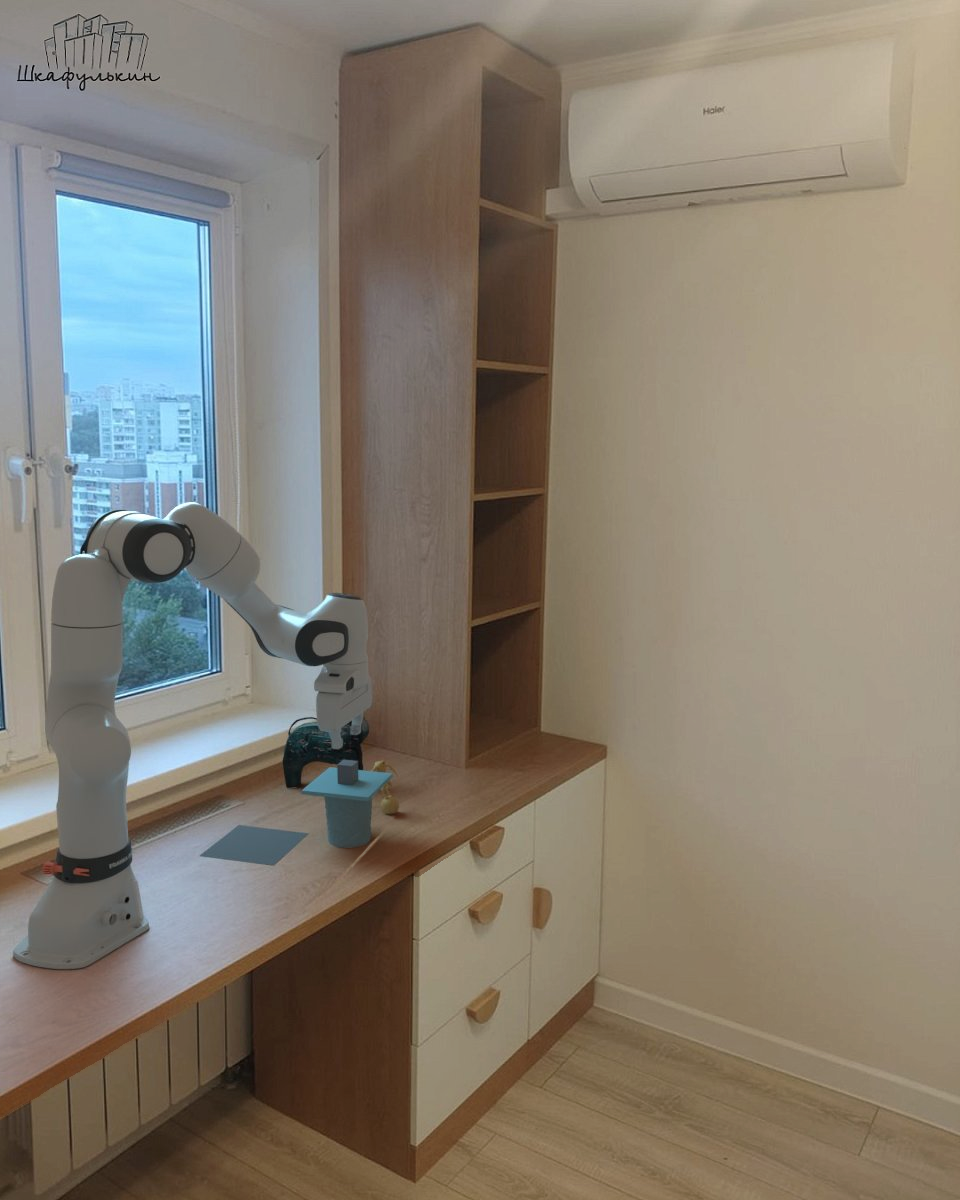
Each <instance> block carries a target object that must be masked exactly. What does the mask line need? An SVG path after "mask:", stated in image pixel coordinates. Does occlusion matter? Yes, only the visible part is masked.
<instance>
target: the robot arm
mask: <svg viewBox="0 0 960 1200" xmlns="http://www.w3.org/2000/svg"><path fill="white" fill-rule="evenodd" d="M79 553H80V554H77V555H73V556H71V557H68V558H65V560H63V561H62V562H61V563H60V565H59V566H58V568H57V570H56V571H57V572H56V576H55V580H54V584H53V585H54V586H53V592H52V598H51V599H52V600H51V612H50V613H51V615H50V616H51V617H50V618H51V619H50V676H49V677H50V678H49V682H48V683H49V684H48V691H47V699H46V711H45V721H44V723H45V724H44V730H45V732H44V734H45V738H46V740H47V742H48V744H49V745H50V747H51V749H52V750H53V752H54V754H55V756H56V760H57V765H58V789H57V790H58V791H57V793H58V794H57V802H56V806H55V808H56V809H55V810H56V820H57V832H58V835H57V836H58V848H57V850H56V856H55V859H54V862H52V861H49V860H48V861H45V862H44V863H43V866H42V869H41V871H42V873H43V874H44V875H52V876H53V877H52V879H51V881H50V882H49V884H48V886H47V887H46V889H45V890H44V892H43V894H42V896H41V897H40V898H39V900H38V902H37V903H36V906H35V907H34V908H33V910H32V911H31V913H30V916H29V918H28V925H27V935H26V937H24V938H23V939H22V940H21V942H19V943H18V944H17V945H16V947H15V948H14V949H13V951H12V956H13V958H14V959H15V960H17V961H18V962H21V963H23V964H26V965H30V966H34V967H39V968H43V969H44V968H45V969H54V970H75V969H81V968H86V967H87V966H90V965H91V964H93V963H95V962H96V961H98V960H100V959H102V958H103V957H105V956H107V955H108V954H109V953H111V952H113V951H115V950H116V949H118V948H120V947H121V946H123V945H125V944H126V943H128V942H130V941H131V940H133V939H135V938H136V937H138V936H140V935H141V934H143V933H144V932H146V931H148V930H149V929H150V924H149V921H148V919H146V917H145V916H144V912H143V911H144V910H143V904H142V899H141V893H140V892H141V891H140V888H139V882H138V879H137V878H136V876H135V874H134V871H133V868H132V865H131V864H132V862H133V847H132V841H131V839H130V837H129V831H128V830H129V828H128V815H127V814H128V813H127V788H128V787H127V786H128V780H129V779H128V778H129V766H130V761H131V755H132V745H131V740H130V736H129V733H128V730H127V728H126V727H125V725H124V724H123V723H122V722H121V720H119V719H118V717H117V714H116V709H115V702H116V694H117V688H118V682H119V677H120V674H121V673H122V670H123V647H124V646H123V640H124V639H123V636H124V635H123V633H124V632H123V629H124V628H123V626H124V610H123V601H124V596H125V594H126V590H127V588H128V586H129V585H130V583H131V581H132V580H134V581H139V582H142V583H144V584H145V583H146V584H161V583H165V582H167V581H170V580H172V579H174V578H175V577H177V576H178V575H180V573H181V572H182V571H183V570H186V571H187V572H188V573H189V574H190V575H191V576H192V577H193V578H194V579H196V580H197V581H198V582H199V583H200V584H201V585H203V586H204V587H205V588H206V589H208V590H209V591H211V592H212V593H213V594H215V595H217V596H219V597H220V598H221V599H223V600H224V601H225V603H227V604H228V605H229V607H230V608H232V610H233V611H235V612H236V613H237V614H238V615H239V616H240V617H241V618H242V619H243V620H244V622H246V624H247V625H248V626H249V628H251V629H250V630H252V633H253V635H254V637H255V640H256V642H257V644H258V646H259V648H260V649H261V650H262V651H263V653H265V655H268V656H269V657H273V658H278V659H284V660H287V661H288V662H289V661H290V662H293V663H296V664H300V665H302V666H307V667H319V666H322V667H321V671H320V673H319V674H318V676H317V677H316V678H315V680H314V683H313V689H314V691H315V692H317V694H316V697H315V698H316V699H315V706H316V707H315V708H316V718H317V720H316V722H317V725H318V727H319V729H320V731H325V732H329V735H330V738H331V740H332V748H333V749H340V748H341V747H342V746H343V739H342V738H341V735H340V732H341V728H342V727H343V726H345V725H346V724H347V723H349V722H350V721H351V720H352V725H351V726H350V733H351V734H352V735H358V734H359V733H361V724H362V720H363V716H364V717H365V713H364V712H365V711H367V710H368V709H370V708H372V704H373V686H372V685H373V684H372V678H371V675H370V674H369V655H368V652H367V643H368V640H369V621H368V619H369V618H368V611H367V607H366V604H365V603H366V602H365V601H364V600H363V599H362V598H361V597H360V596H358V595H354V594H353V595H352V594H347V593H341V592H340V593H339V592H331V593H328V594H326V595H325V598H324V599H323V600H322V601H321V602H320V603H319V605H317V606H316V607H314V608H313V609H311V610H310V611H308V612H306V613H305V612H301V611H298V610H294V609H292V608H289V607H287V606H284V605H279V604H276V603H275V602H274V601H272V600H271V598H269V597H268V596H267V594H266V593H265V592H264V590H262V589H261V588H260V587H259V585H257V584H256V581H257V579H258V577H259V575H260V570H261V559H260V556H259V555H258V554H257V552H256V550H255V549H254V547H253V546H252V545H251V544H250V542H249V541H248V540H247V539H246V538H245V537H244V536H243V535H242V534H241V533H240V532H239V531H238V530H237V529H235V528H234V527H233V526H232V525H231V524H230V523H229V522H228V521H226V520H225V518H224V519H223V518H222V517H221V516H219V514H217V513H216V512H214V511H213V510H211V509H209V508H208V507H206V506H205V505H203V504H201V503H198V502H194V501H192V502H191V501H190V502H185V503H182V504H178V506H176V507H174V508H172V510H171V511H170V512H169V513H168V514H167V515H166V517H164V518H159V517H156V516H153V515H150V514H148V513H145V512H139V511H131V510H126V509H114V510H111V511H108V512H104V513H103V514H100V515H99V516H98V517H96V519H94V521H92V523H91V525H90V527H89V528H88V530H87V534H86V537H85V540H84V541H83V543H82V544H81V546H80V549H79Z"/></svg>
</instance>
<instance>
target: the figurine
mask: <svg viewBox="0 0 960 1200" xmlns="http://www.w3.org/2000/svg"><path fill="white" fill-rule="evenodd" d="M387 768H389V769H390V770H391V771H392V772H393V774H395V775H396V778H399V776H398V773H397V772H396V771H395V769H394V768H393V767H392V766H391V765H390V764H389V763H386V761H385V759H382V760H377V761H375V762H374V764H373V768H372V769H371V770H370V771H373V772H384V773H386V770H387ZM392 785H393V782H391V779H390V780H389V781H388V782H387V783H386V784H385V785H384V786H383V787H382V788H381V794H382V795H383V799H382V800H381V801H380V810H381V812H382V813H383V814H385V815H386V816H387V815H388V816H391V815H395V814H396V813H397V812H398V810H399V807H400V803H399V801H398V799H397V798H396V797H394V795H393V794H392V793H391V792H390V791H389V790H390V789H391V787H392ZM385 790H386V792H387V794H386V793H385ZM387 795H388V796H387Z"/></svg>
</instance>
